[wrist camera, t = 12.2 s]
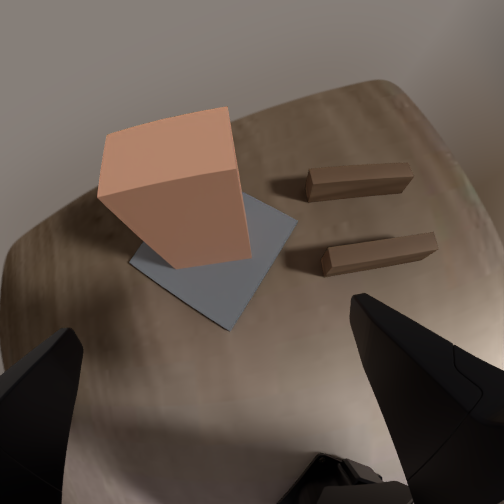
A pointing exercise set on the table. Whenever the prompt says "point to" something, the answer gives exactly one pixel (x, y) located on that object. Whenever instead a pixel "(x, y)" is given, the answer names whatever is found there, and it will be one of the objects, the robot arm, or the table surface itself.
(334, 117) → the table surface
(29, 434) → the robot arm
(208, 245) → the thick orange-brown block
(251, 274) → the slate mat
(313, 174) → the slot holder
